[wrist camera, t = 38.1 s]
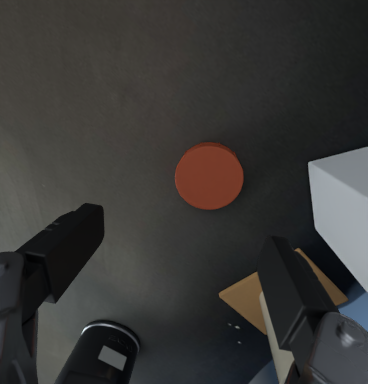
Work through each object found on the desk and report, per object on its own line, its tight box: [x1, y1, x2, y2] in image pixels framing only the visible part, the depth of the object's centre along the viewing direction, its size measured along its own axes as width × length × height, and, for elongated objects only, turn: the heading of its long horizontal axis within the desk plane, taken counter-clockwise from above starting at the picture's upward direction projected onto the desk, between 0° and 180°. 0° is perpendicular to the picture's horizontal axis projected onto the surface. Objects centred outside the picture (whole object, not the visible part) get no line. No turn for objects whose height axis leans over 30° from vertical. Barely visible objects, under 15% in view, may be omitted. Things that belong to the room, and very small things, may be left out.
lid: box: [175, 142, 243, 210], centre depth 18 cm, size 6×6×2 cm
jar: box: [259, 291, 294, 384], centre depth 19 cm, size 6×6×9 cm
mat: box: [219, 248, 348, 335], centre depth 23 cm, size 11×9×1 cm
